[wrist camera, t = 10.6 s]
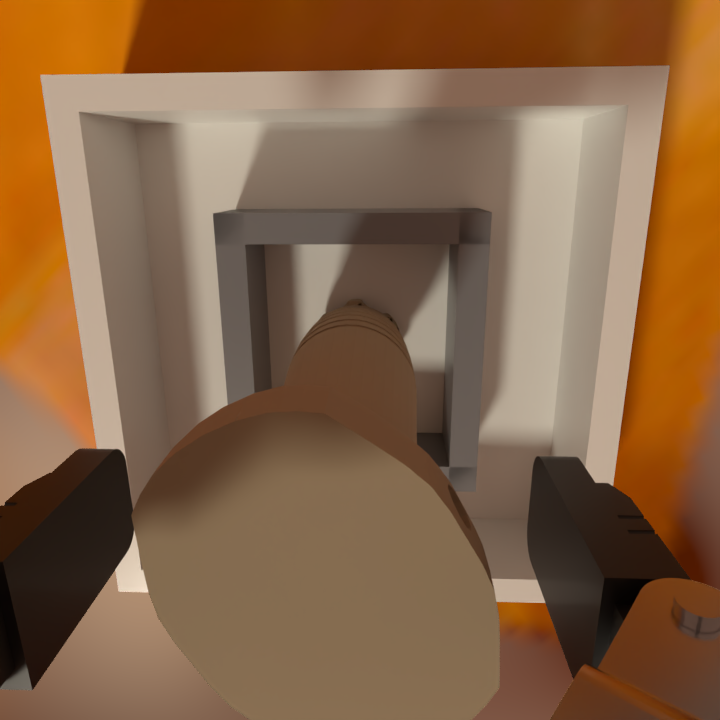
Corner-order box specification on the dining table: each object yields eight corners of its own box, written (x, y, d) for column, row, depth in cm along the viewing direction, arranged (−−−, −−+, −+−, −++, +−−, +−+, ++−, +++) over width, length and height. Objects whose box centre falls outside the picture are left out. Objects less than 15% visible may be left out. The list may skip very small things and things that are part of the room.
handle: (370, 234, 22) (354, 352, 8) (449, 375, 23) (559, 692, 9) (262, 297, 23) (65, 509, 8) (346, 429, 24) (299, 794, 10)
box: (116, 97, 22) (40, 75, 17) (606, 91, 21) (669, 65, 16) (166, 519, 27) (118, 591, 22) (559, 527, 26) (596, 604, 22)
